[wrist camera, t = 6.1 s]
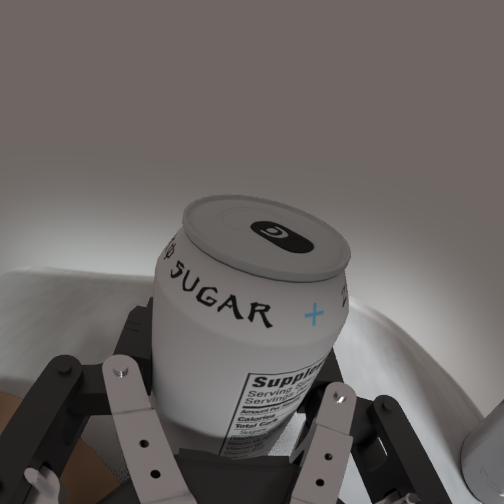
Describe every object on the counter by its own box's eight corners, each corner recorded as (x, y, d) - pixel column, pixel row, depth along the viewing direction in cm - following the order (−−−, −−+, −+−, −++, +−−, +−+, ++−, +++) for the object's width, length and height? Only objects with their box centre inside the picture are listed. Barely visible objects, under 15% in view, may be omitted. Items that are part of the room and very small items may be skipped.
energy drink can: (208, 403, 19) (260, 184, 13) (273, 462, 16) (396, 252, 9) (134, 444, 15) (122, 198, 8) (201, 518, 12) (289, 329, 5)
